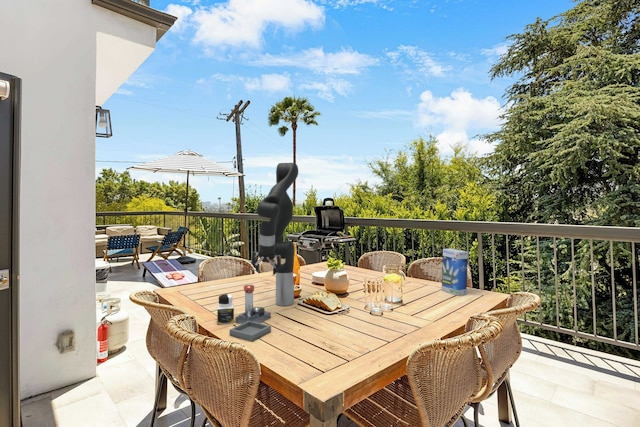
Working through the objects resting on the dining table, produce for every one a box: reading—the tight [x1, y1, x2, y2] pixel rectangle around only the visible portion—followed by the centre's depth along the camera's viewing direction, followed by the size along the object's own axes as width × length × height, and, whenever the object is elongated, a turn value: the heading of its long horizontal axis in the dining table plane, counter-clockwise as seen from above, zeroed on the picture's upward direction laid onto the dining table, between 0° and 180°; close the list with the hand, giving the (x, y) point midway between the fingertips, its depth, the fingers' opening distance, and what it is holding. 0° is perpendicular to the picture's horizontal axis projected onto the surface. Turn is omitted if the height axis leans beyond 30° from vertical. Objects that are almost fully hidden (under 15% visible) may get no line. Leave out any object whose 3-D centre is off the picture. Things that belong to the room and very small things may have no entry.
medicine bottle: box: [216, 293, 235, 325], centre depth 159 cm, size 7×7×12 cm
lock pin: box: [243, 284, 255, 317], centre depth 158 cm, size 5×5×14 cm
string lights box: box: [441, 247, 469, 297], centre depth 209 cm, size 13×8×26 cm, turn 25°
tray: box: [229, 321, 272, 343], centre depth 145 cm, size 12×12×2 cm
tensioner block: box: [234, 306, 272, 325], centre depth 161 cm, size 13×10×5 cm
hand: (265, 272), depth 174 cm, fingers open, 8 cm apart
